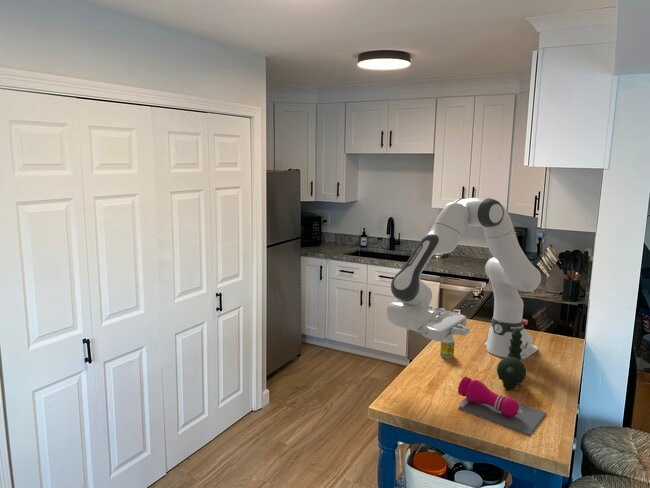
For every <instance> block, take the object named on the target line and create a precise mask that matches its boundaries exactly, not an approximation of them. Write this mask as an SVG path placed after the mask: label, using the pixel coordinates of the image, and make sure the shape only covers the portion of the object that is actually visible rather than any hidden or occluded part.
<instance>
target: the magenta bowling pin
mask: <svg viewBox="0 0 650 488" xmlns="http://www.w3.org/2000/svg"><path fill="white" fill-rule="evenodd" d="M457 393H458V395H460V396H462V397H465V398H466V397H467V399H468V400H469V401H470V402H473V403H479V404H487V405H490V406H492V407H494V408H495V410H498V411H501V412H502V414H503V415H504V416H506V417H509V418H512V417H514V416H516V415H517V414H518V415H522V414H523V411H522V410H521V409H519V404H518V403H519V402H518V400H516V399H515V398H513V397H511V396H508V397H506V395H502V394H497V393H495V392H493V391H492V390H490V388H489V387H487V385H486V384H484V383H483V382H482V381H480V380H478V379H473V380H472V378H471V377H468V376H464V377H463V378H461V380H460V382H459V384H458V387H457Z"/></svg>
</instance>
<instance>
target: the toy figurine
mask: <svg viewBox="0 0 650 488" xmlns="http://www.w3.org/2000/svg"><path fill="white" fill-rule="evenodd" d="M521 337H522V334H521V333H520V330H519V329H518V328H515V329H514V330H513V333H512V339H510V343H511V346H510V347H509V354H508V357H506V358H505V357H503V358H502V359H501V360H500V361H499V362H498V364H497V366H496V373H497V376H498V379H499V380H501V381H502V382H503V383H502V385H503V388H504V389H506V390H507V391H515V390H516V389H517V385H519V384H520V385H521V384H522V382H523V381H524V380H525V379H526V376H527V369H526V366H525V364H524V363H523V362H522V359H521V355H520V353H521V352H522V349H521V347H520V346H521V344H522V343H523V342H522V341H521Z"/></svg>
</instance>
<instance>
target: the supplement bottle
mask: <svg viewBox="0 0 650 488" xmlns="http://www.w3.org/2000/svg"><path fill="white" fill-rule="evenodd" d="M455 342H456V341H455V339H454V334H452V335H450V336H449V337H447V338H446V339H444V340H442V341H440V350H439V351H440V352H439V353H440V354H439V355H440V356H441V357H442V358H444V359H452V358H453V357H454V355H455Z"/></svg>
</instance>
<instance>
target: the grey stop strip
mask: <svg viewBox="0 0 650 488" xmlns="http://www.w3.org/2000/svg"><path fill="white" fill-rule="evenodd" d="M469 402H470V401H469V400H468V399H467V397H466V396H465V398H464V399H462V401H460V402H459V406H460V407H464V406H465V405H467V404H468V403H469Z"/></svg>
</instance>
